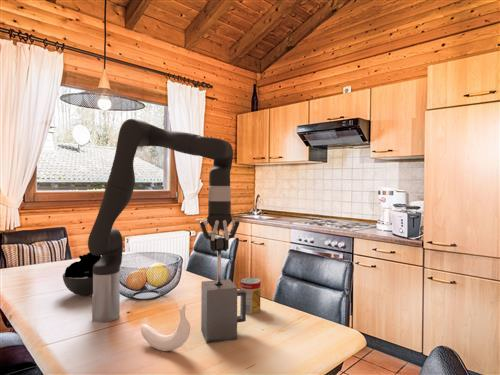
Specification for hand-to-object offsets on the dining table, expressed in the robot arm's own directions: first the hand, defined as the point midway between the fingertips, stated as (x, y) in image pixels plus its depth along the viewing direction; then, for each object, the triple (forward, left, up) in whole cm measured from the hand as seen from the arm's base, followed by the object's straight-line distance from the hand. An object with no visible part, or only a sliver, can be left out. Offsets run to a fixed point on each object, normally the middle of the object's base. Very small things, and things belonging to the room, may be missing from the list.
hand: (219, 250), depth 117 cm
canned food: (+17, +18, -29) cm, 38 cm away
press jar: (+2, 0, -28) cm, 28 cm away
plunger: (0, 0, -14) cm, 14 cm away
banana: (-18, -4, -29) cm, 34 cm away
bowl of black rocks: (-47, +56, -29) cm, 79 cm away
